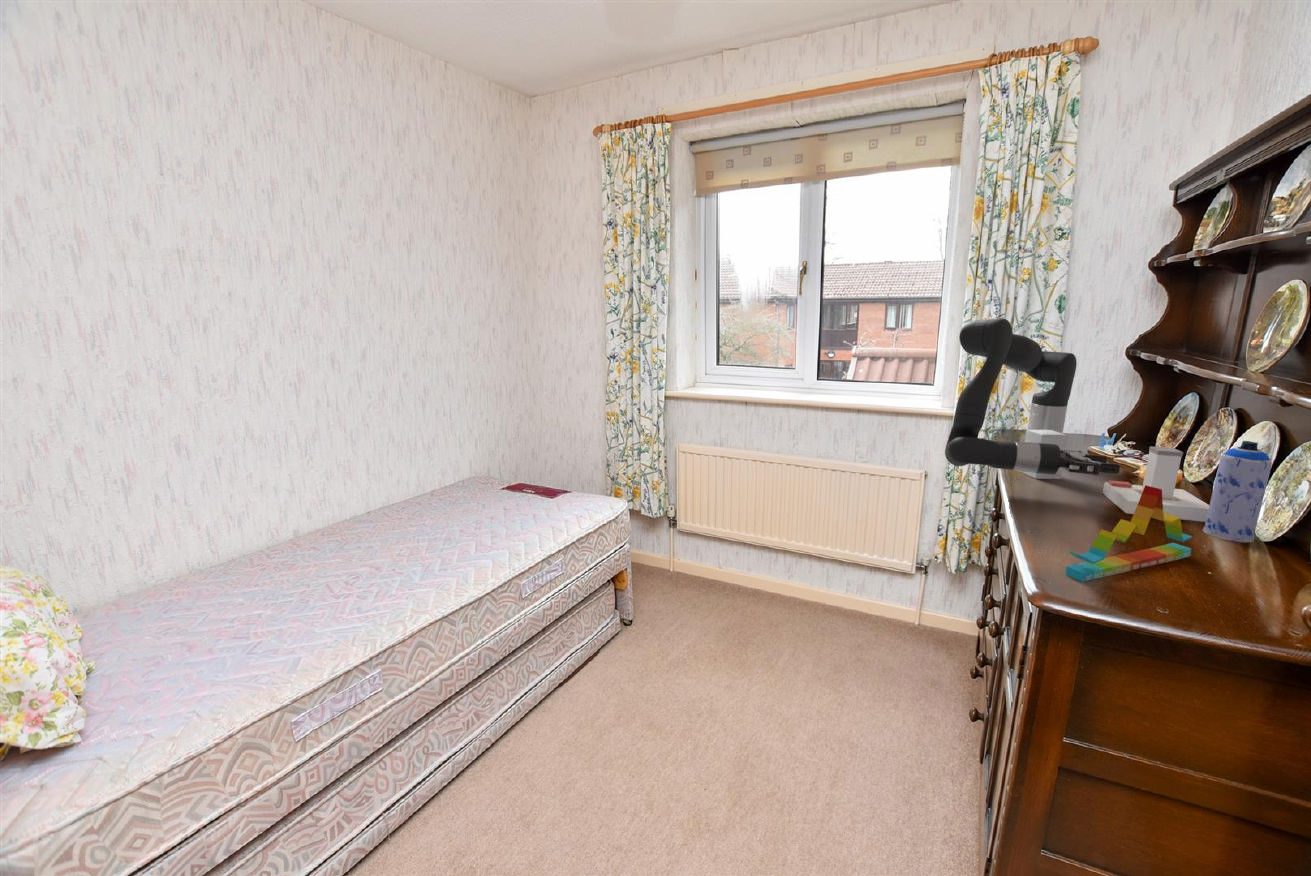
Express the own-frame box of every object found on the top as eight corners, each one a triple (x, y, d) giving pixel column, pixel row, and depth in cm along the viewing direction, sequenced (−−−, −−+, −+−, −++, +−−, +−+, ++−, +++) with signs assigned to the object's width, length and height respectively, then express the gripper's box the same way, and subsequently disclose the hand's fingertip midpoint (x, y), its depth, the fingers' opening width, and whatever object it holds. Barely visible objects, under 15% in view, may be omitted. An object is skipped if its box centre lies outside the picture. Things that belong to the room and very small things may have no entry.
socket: (1102, 493, 149) (1105, 479, 148) (1180, 501, 143) (1183, 486, 142) (1126, 513, 134) (1129, 497, 133) (1214, 522, 129) (1217, 506, 128)
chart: (1084, 584, 100) (1099, 501, 97) (1065, 576, 103) (1079, 495, 100) (1190, 558, 111) (1207, 483, 107) (1171, 552, 114) (1187, 478, 110)
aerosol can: (1264, 540, 119) (1288, 445, 115) (1237, 544, 117) (1261, 447, 113) (1218, 526, 127) (1239, 436, 122) (1193, 530, 124) (1213, 438, 120)
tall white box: (1138, 502, 142) (1149, 446, 139) (1161, 505, 140) (1173, 448, 137) (1146, 508, 137) (1158, 450, 134) (1170, 511, 136) (1183, 452, 133)
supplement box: (1061, 479, 161) (1069, 434, 158) (1034, 479, 161) (1041, 434, 158) (1045, 472, 168) (1051, 429, 165) (1019, 471, 168) (1025, 429, 165)
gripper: (1044, 449, 138) (1126, 456, 133) (1030, 437, 151) (1104, 443, 146) (1039, 479, 140) (1120, 487, 134) (1025, 465, 153) (1099, 472, 147)
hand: (1112, 464), depth 140 cm, fingers open, 8 cm apart
